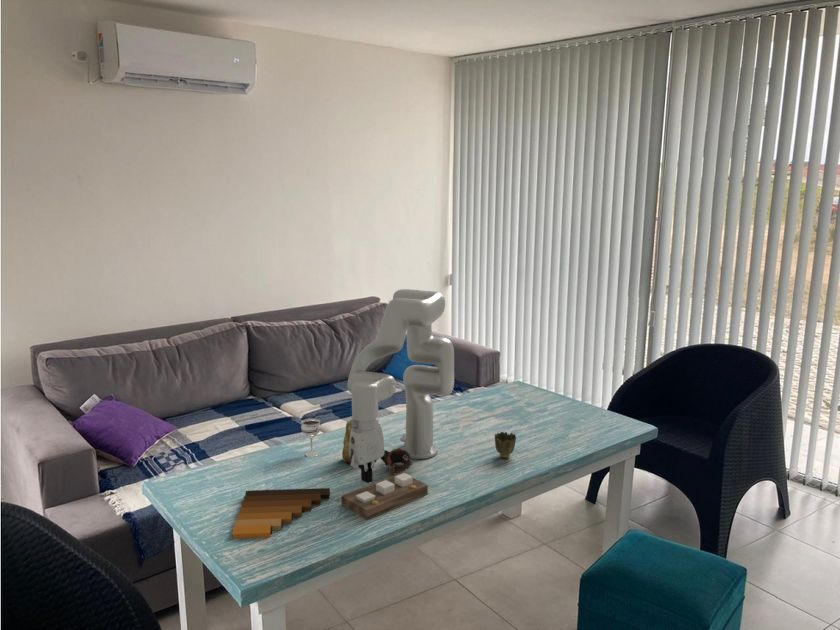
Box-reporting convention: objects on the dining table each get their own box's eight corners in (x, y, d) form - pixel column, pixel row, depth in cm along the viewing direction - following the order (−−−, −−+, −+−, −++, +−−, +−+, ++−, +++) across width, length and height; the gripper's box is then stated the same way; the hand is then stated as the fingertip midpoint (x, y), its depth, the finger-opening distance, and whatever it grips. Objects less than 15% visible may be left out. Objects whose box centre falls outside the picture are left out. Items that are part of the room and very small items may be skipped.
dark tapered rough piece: (490, 458, 242) (491, 437, 241) (498, 451, 249) (499, 430, 247) (510, 463, 239) (511, 441, 237) (518, 455, 245) (519, 434, 244)
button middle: (375, 491, 212) (375, 483, 212) (385, 487, 215) (385, 479, 214) (384, 496, 209) (384, 488, 209) (394, 491, 212) (394, 484, 211)
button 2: (394, 484, 217) (394, 476, 217) (404, 480, 220) (404, 472, 219) (403, 488, 214) (403, 480, 214) (412, 484, 217) (412, 476, 216)
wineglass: (320, 458, 242) (319, 425, 239) (300, 458, 242) (299, 425, 239) (322, 450, 248) (321, 418, 246) (303, 450, 248) (302, 418, 246)
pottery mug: (415, 466, 237) (417, 452, 231) (403, 488, 231) (404, 473, 225) (384, 453, 240) (384, 438, 235) (371, 473, 234) (371, 458, 228)
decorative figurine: (372, 461, 240) (372, 419, 237) (357, 469, 233) (357, 426, 230) (350, 454, 245) (350, 413, 242) (335, 462, 238) (334, 420, 235)
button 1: (356, 503, 207) (356, 495, 207) (366, 498, 210) (366, 491, 209) (364, 507, 204) (364, 500, 204) (375, 503, 207) (375, 495, 207)
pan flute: (329, 495, 216) (247, 498, 214) (329, 485, 215) (246, 488, 213) (326, 537, 192) (232, 541, 189) (326, 526, 191) (232, 529, 189)
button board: (341, 505, 209) (341, 495, 208) (401, 481, 225) (401, 471, 224) (366, 519, 200) (366, 509, 199) (427, 493, 216) (427, 484, 216)
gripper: (352, 434, 195) (354, 494, 199) (393, 419, 204) (394, 477, 209) (336, 426, 200) (338, 485, 204) (377, 412, 210) (378, 469, 214)
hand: (366, 481), depth 207 cm, fingers closed
